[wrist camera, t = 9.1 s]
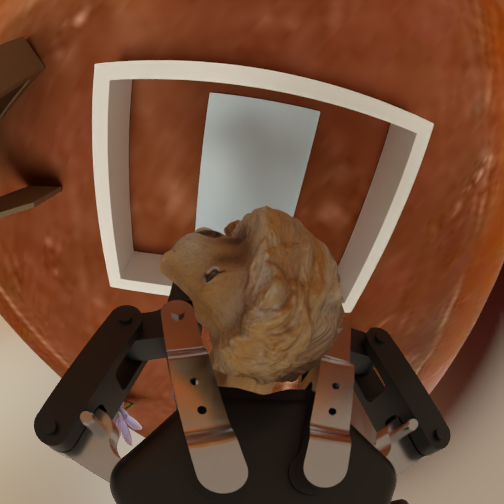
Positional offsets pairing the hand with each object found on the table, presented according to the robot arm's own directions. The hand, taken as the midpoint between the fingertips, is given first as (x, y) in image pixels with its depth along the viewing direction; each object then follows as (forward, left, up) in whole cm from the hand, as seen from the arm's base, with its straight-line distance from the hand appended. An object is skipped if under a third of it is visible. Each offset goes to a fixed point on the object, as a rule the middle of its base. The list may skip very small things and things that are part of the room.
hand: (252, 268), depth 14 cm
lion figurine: (0, +1, -1) cm, 2 cm away
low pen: (0, 0, -10) cm, 10 cm away
